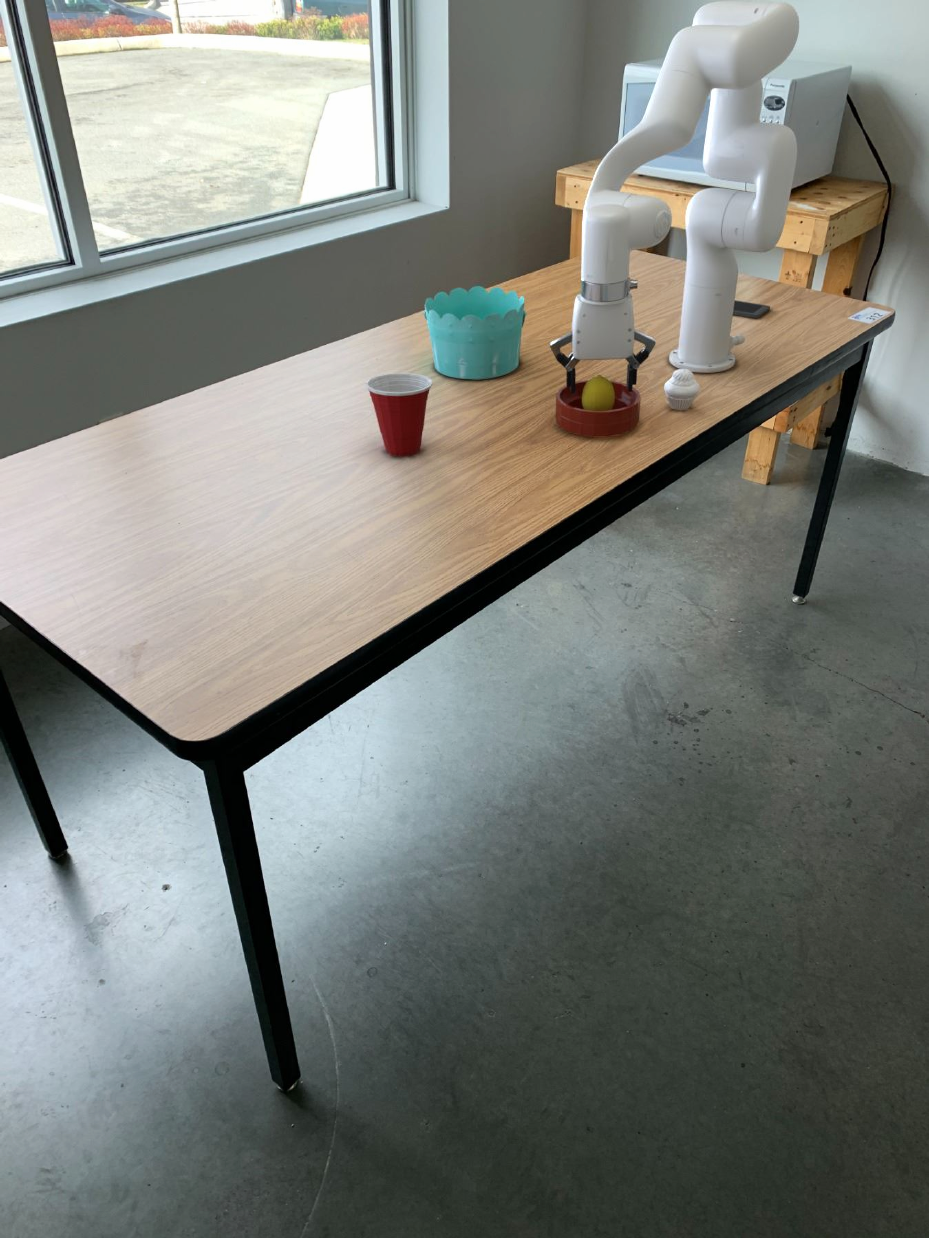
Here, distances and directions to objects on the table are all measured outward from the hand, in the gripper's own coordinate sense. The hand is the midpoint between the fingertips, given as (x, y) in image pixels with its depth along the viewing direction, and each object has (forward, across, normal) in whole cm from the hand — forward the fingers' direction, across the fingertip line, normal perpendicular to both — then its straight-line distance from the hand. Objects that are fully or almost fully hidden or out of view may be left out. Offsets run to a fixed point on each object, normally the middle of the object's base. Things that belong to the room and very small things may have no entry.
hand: (600, 389), depth 165 cm
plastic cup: (+5, +33, +10) cm, 35 cm away
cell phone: (+8, -34, -59) cm, 69 cm away
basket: (+6, +22, -28) cm, 36 cm away
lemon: (+5, +1, +1) cm, 5 cm away
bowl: (+6, +1, +1) cm, 6 cm away
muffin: (+6, -15, -6) cm, 17 cm away
